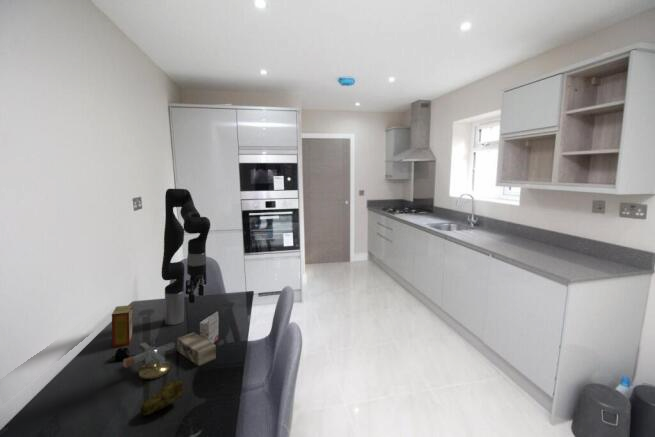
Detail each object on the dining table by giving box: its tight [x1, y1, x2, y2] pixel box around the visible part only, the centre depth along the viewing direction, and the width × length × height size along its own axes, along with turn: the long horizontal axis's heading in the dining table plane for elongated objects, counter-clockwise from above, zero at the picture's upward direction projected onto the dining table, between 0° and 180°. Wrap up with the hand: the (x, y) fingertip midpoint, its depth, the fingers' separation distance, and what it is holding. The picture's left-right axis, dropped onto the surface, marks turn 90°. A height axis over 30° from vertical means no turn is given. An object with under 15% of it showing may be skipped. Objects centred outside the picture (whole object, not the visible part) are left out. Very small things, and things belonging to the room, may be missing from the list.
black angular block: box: [107, 347, 135, 364], centre depth 130 cm, size 12×7×5 cm, turn 102°
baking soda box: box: [111, 304, 134, 348], centre depth 143 cm, size 10×6×16 cm
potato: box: [140, 379, 185, 416], centre depth 103 cm, size 8×13×8 cm, turn 115°
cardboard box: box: [176, 331, 217, 367], centre depth 135 cm, size 18×9×6 cm, turn 53°
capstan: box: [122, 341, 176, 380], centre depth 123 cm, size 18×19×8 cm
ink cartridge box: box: [199, 310, 219, 344], centre depth 146 cm, size 9×5×15 cm, turn 168°
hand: (196, 298), depth 132 cm, fingers open, 8 cm apart
